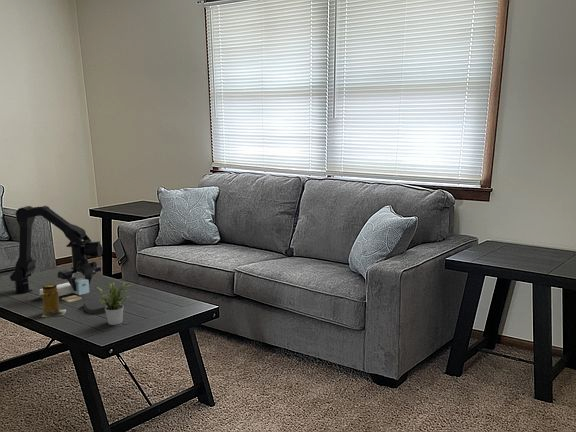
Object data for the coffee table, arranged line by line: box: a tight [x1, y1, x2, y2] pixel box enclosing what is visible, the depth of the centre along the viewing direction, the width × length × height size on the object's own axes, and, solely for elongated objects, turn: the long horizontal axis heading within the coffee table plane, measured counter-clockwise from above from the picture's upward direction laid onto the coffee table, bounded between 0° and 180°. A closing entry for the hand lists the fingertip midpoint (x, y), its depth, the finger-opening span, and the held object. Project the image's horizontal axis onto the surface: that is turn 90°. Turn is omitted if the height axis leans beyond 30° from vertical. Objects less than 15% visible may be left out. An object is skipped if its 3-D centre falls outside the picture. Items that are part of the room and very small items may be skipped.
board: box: [61, 294, 83, 303], centre depth 240 cm, size 6×6×1 cm
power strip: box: [28, 281, 75, 301], centre depth 246 cm, size 8×25×4 cm, turn 141°
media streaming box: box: [83, 295, 124, 315], centre depth 230 cm, size 15×15×3 cm
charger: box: [73, 277, 90, 296], centre depth 250 cm, size 7×5×6 cm
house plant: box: [96, 281, 132, 326], centre depth 210 cm, size 14×14×16 cm
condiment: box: [41, 283, 67, 318], centre depth 222 cm, size 7×8×12 cm
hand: (81, 289), depth 250 cm, fingers open, 6 cm apart
